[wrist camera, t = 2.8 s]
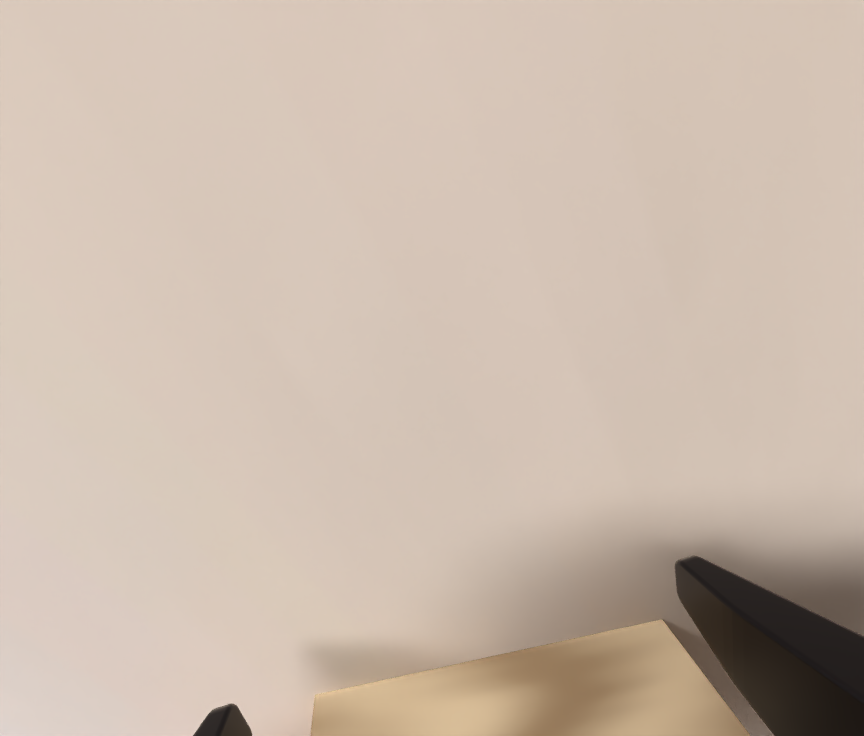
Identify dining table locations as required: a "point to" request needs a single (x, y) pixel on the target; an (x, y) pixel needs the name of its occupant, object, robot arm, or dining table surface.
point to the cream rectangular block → (543, 694)
